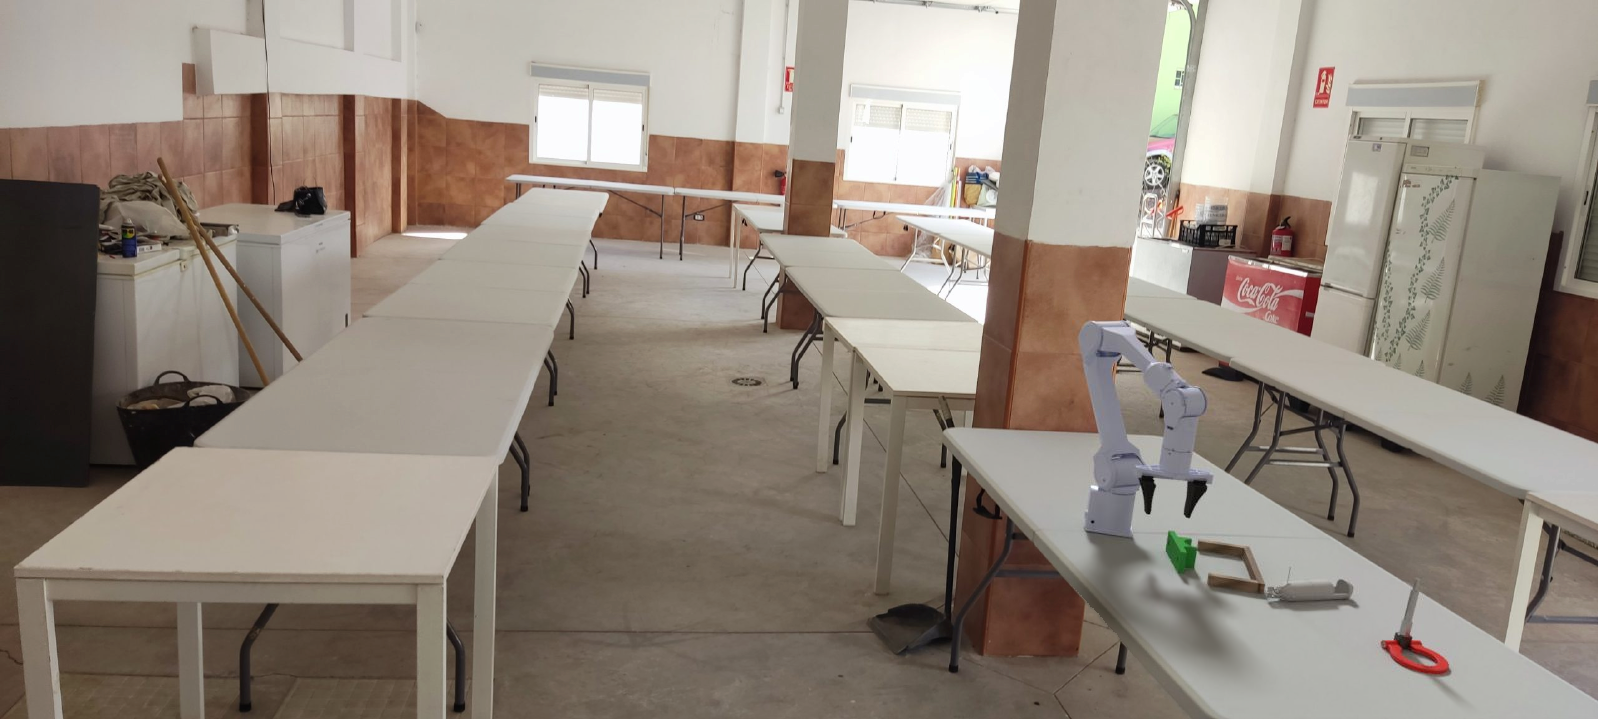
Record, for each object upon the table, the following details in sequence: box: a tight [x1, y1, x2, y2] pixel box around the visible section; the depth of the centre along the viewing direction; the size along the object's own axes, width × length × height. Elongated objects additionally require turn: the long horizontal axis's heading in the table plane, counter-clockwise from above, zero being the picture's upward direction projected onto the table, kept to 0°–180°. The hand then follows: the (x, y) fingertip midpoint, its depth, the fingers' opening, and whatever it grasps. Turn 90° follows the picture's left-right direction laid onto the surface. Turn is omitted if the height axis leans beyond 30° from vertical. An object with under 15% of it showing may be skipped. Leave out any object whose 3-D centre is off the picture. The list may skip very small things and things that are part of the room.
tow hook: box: [1380, 577, 1450, 675], centre depth 172 cm, size 8×13×9 cm
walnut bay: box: [1196, 538, 1266, 595], centre depth 205 cm, size 10×19×2 cm, turn 166°
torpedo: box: [1264, 566, 1354, 602], centre depth 194 cm, size 18×5×6 cm, turn 105°
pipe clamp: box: [1165, 530, 1198, 575], centre depth 207 cm, size 11×4×5 cm, turn 173°
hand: (1166, 514), depth 208 cm, fingers open, 7 cm apart
